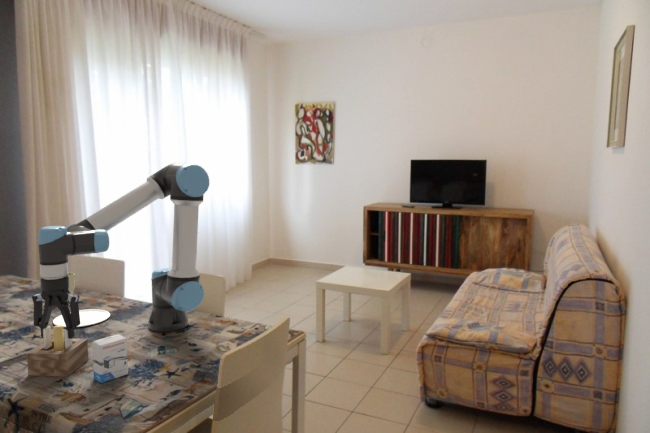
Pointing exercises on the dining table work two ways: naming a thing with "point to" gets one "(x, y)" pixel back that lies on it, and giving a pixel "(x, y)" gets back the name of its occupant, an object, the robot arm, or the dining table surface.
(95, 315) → the plate
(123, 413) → the dining table surface
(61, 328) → the pin
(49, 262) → the robot arm
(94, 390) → the dining table surface
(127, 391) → the dining table surface
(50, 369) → the bore block
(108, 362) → the ink box
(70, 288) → the mug
